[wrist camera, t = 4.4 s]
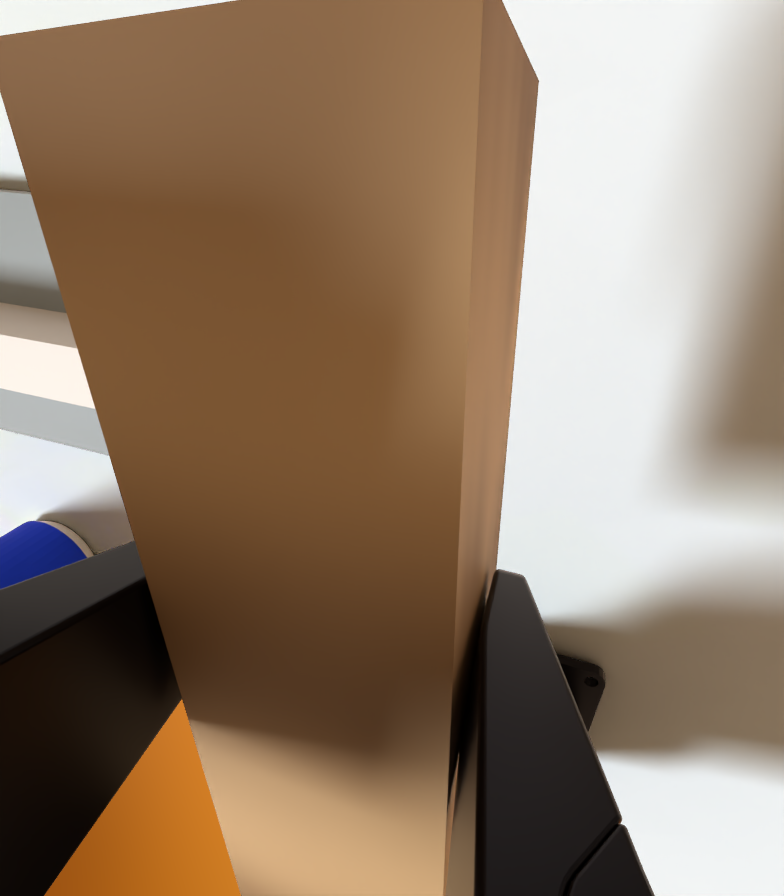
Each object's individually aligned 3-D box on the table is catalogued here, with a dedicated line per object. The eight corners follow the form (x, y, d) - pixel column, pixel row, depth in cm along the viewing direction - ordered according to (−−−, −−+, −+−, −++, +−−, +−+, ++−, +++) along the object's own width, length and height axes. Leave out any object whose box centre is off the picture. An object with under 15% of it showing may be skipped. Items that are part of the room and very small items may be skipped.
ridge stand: (291, 484, 21) (234, 542, 18) (-7, 414, 25) (-99, 449, 22) (279, 213, 16) (198, 221, 13) (-84, 181, 20) (-218, 180, 17)
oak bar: (478, 768, 11) (438, 986, 8) (327, 722, 12) (242, 899, 9) (539, 80, 6) (483, -37, 3) (254, 104, 7) (-17, 38, 4)
